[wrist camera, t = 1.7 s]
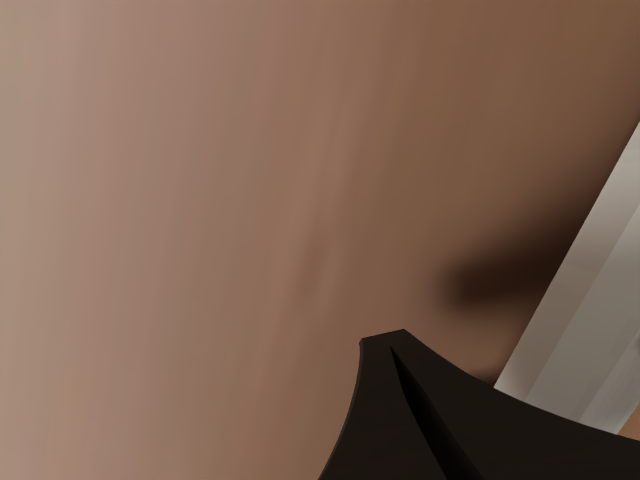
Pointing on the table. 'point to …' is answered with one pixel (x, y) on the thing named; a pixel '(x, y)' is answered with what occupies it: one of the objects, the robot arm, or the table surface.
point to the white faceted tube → (589, 316)
